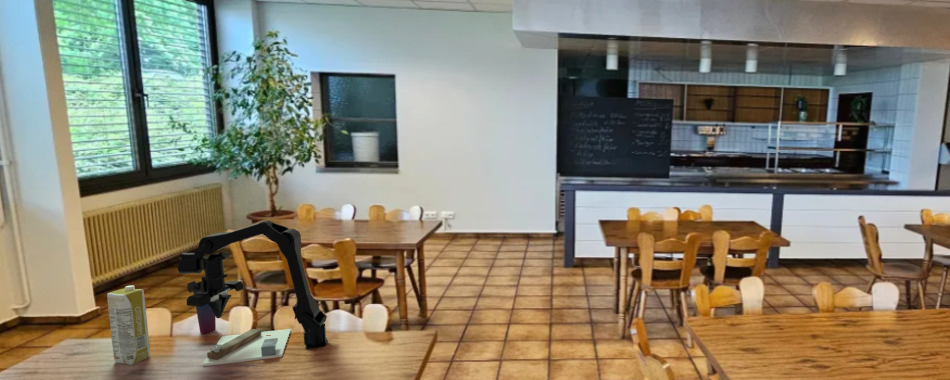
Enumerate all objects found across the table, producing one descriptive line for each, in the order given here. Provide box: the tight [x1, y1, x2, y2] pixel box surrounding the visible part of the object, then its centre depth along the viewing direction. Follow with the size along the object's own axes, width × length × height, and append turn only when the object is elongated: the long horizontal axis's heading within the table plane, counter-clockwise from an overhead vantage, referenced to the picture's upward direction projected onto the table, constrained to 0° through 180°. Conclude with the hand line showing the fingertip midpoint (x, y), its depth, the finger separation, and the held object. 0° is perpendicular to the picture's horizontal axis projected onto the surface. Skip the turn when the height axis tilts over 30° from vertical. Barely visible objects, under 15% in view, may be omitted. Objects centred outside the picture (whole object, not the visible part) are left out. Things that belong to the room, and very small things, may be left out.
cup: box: [195, 291, 217, 335], centre depth 180 cm, size 7×7×15 cm
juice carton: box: [106, 285, 151, 366], centre depth 158 cm, size 9×8×24 cm
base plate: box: [202, 328, 292, 367], centre depth 166 cm, size 23×22×4 cm
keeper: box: [261, 338, 278, 357], centre depth 160 cm, size 4×6×3 cm, turn 13°
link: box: [206, 328, 262, 359], centre depth 165 cm, size 20×4×2 cm, turn 163°
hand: (218, 317), depth 165 cm, fingers closed
